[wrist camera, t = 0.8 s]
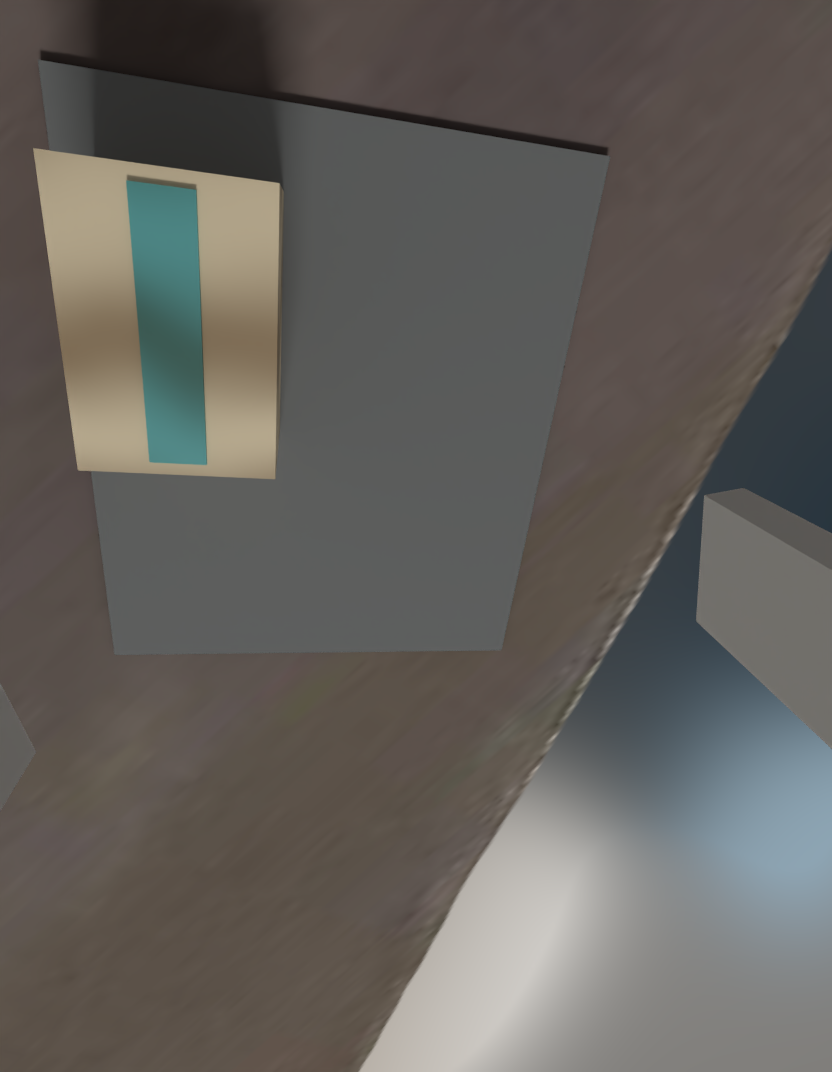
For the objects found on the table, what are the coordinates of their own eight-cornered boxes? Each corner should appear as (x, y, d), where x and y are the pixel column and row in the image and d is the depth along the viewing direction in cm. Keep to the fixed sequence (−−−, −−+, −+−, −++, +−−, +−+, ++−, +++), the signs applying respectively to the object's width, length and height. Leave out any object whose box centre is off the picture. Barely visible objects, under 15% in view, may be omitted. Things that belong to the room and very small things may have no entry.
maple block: (94, 165, 23) (31, 147, 17) (283, 191, 24) (279, 182, 19) (120, 422, 27) (76, 471, 22) (279, 432, 29) (275, 480, 23)
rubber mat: (41, 61, 22) (37, 59, 21) (607, 157, 26) (610, 156, 26) (116, 651, 33) (114, 654, 33) (499, 647, 37) (501, 650, 37)
